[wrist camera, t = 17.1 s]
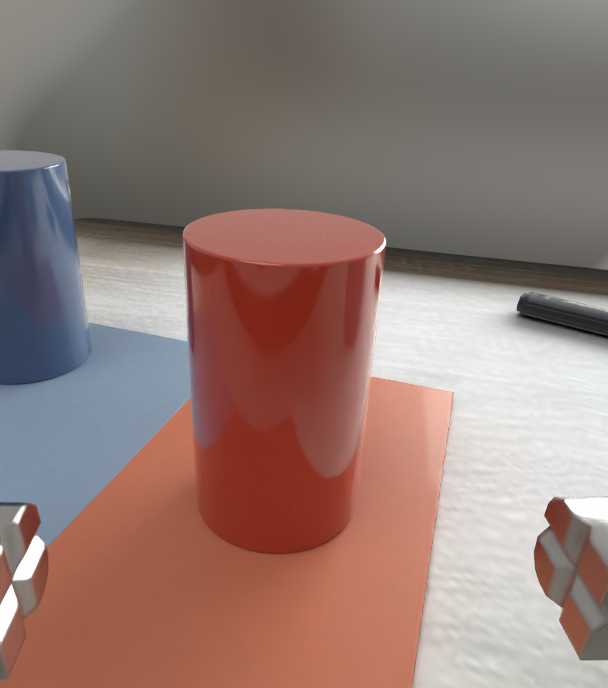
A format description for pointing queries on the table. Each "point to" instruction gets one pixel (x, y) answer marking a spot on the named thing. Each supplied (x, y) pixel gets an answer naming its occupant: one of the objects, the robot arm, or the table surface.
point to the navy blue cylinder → (39, 271)
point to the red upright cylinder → (280, 370)
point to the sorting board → (207, 539)
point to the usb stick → (564, 312)
